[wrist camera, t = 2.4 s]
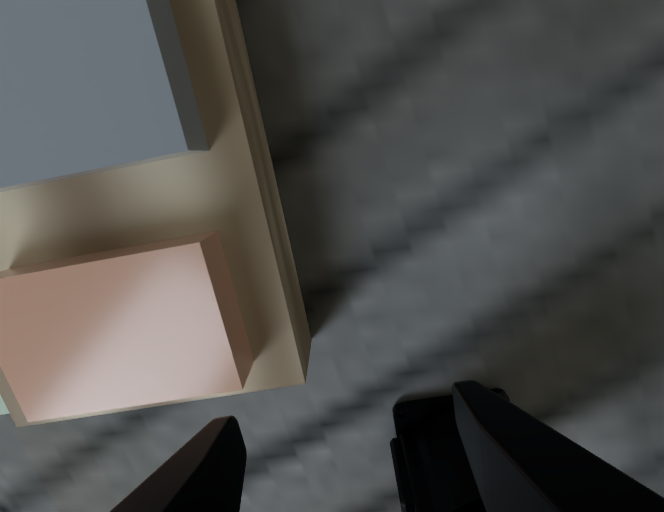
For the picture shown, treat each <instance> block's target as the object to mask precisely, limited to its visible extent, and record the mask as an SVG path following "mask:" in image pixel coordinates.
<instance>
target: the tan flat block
mask: <svg viewBox="0 0 664 512" xmlns="http://www.w3.org/2000/svg"><path fill="white" fill-rule="evenodd" d="M169 1H170V5H171V9H172V12H173V16H174V20H175V24H176V27H177V31H178V35H179V39H180V42H181V46H182V50H183V54H184V57H185V61H186V65H187V69H188V72H189V76H190V80H191V83H192V87H193V91H194V95H195V98H196V102H197V106H198V110H199V113H200V117H201V121H202V125H203V128H204V132H205V136H206V140H207V143H208V147H209V151H205V152H200V153H195V154H190V155H185V156H180V157H175V158H170V159H165V160H160V161H155V162H150V163H145V164H140V165H135V166H130V167H125V168H120V169H115V170H109V171H104V172H99V173H94V174H89V175H84V176H79V177H74V178H69V179H64V180H59V181H54V182H49V183H44V184H39V185H34V186H29V187H24V188H19V189H14V190H9V191H4V192H0V271H3V270H6V269H9V268H15V267H20V266H25V265H31V264H36V263H42V262H47V261H53V260H58V259H64V258H69V257H75V256H80V255H86V254H91V253H97V252H102V251H107V250H113V249H118V248H124V247H129V246H135V245H140V244H146V243H151V242H157V241H162V240H168V239H173V238H178V237H184V236H189V235H195V234H200V233H206V232H211V231H217V230H218V232H219V236H220V240H221V243H222V247H223V250H224V254H225V258H226V261H227V265H228V269H229V272H230V276H231V279H232V283H233V287H234V290H235V294H236V297H237V301H238V305H239V308H240V312H241V316H242V319H243V323H244V326H245V330H246V334H247V337H248V341H249V344H250V348H251V352H252V355H253V359H254V363H253V366H252V368H251V370H250V373H249V375H248V378H247V380H246V383H245V385H244V388H243V390H238V391H232V392H225V393H219V394H212V395H205V396H199V397H192V398H186V399H179V400H172V401H166V402H159V403H153V404H146V405H140V406H133V407H126V408H120V409H113V410H107V411H100V412H94V413H87V414H80V415H74V416H67V417H61V418H54V419H47V420H41V421H34V422H28V421H27V419H26V417H25V415H24V413H23V411H22V409H21V407H20V405H19V403H18V401H17V399H16V397H15V395H14V393H13V391H12V389H11V387H10V385H9V383H8V381H7V379H6V377H5V375H4V373H3V371H2V369H1V367H0V395H1V397H2V399H3V401H4V403H5V405H6V407H7V409H8V411H9V413H10V415H11V417H12V419H13V421H14V423H15V425H16V427H22V426H29V425H35V424H42V423H49V422H55V421H62V420H68V419H75V418H82V417H88V416H95V415H102V414H108V413H115V412H121V411H128V410H135V409H141V408H148V407H154V406H161V405H168V404H174V403H181V402H187V401H194V400H201V399H207V398H214V397H220V396H227V395H234V394H240V393H247V392H253V391H260V390H267V389H273V388H280V387H286V386H293V385H300V384H305V383H306V376H307V369H308V362H309V355H310V348H311V341H312V339H311V334H310V330H309V325H308V321H307V316H306V312H305V307H304V303H303V299H302V294H301V290H300V285H299V281H298V276H297V272H296V267H295V263H294V258H293V254H292V249H291V245H290V240H289V236H288V232H287V227H286V223H285V218H284V214H283V209H282V205H281V200H280V196H279V191H278V187H277V182H276V178H275V173H274V169H273V164H272V160H271V156H270V151H269V147H268V142H267V138H266V133H265V129H264V124H263V120H262V115H261V111H260V106H259V102H258V97H257V93H256V88H255V84H254V80H253V75H252V71H251V66H250V62H249V57H248V53H247V48H246V44H245V39H244V35H243V30H242V26H241V21H240V17H239V13H238V8H237V4H236V0H169Z"/></svg>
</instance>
